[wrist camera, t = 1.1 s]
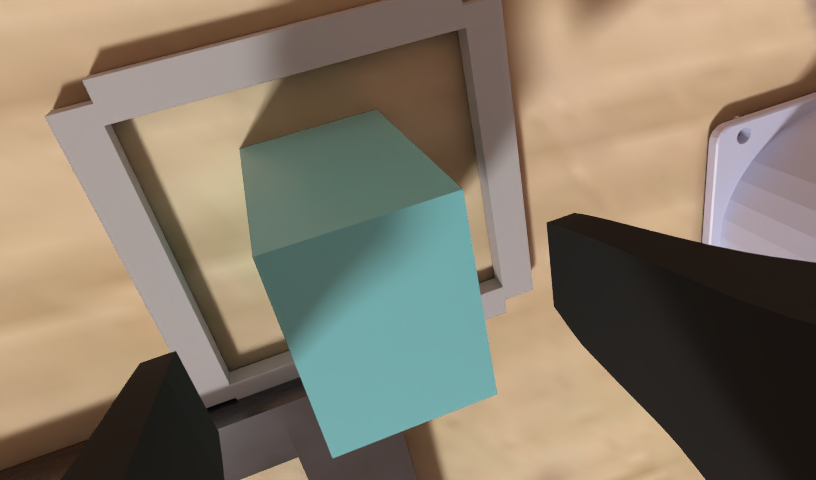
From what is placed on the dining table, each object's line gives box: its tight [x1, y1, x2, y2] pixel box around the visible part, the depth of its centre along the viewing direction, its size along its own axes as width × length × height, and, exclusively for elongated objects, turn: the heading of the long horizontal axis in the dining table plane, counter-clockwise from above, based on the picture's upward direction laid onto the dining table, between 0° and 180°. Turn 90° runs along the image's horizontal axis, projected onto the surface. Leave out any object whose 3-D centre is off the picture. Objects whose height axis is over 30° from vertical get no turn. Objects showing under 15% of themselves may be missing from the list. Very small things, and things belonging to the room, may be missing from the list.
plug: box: [240, 109, 497, 458], centre depth 13 cm, size 4×5×6 cm
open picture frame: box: [45, 0, 533, 408], centre depth 15 cm, size 11×10×1 cm
